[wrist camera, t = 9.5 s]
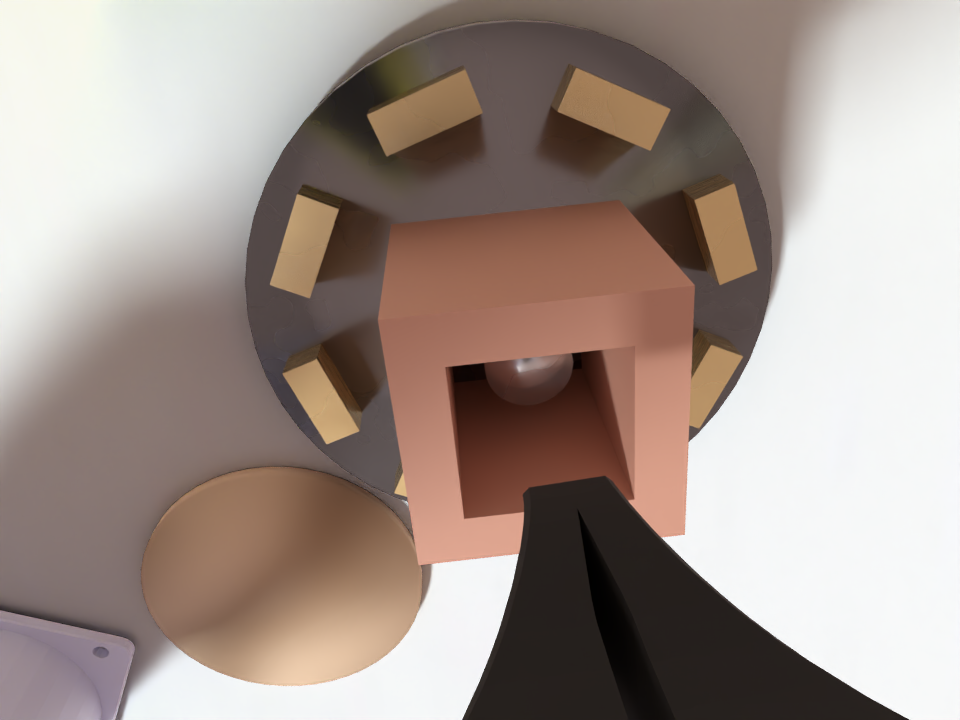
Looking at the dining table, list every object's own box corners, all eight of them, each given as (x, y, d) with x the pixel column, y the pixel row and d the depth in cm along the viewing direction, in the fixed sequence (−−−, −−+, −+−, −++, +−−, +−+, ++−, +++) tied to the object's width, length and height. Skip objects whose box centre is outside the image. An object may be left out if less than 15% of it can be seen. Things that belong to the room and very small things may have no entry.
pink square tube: (419, 420, 22) (418, 564, 16) (390, 224, 19) (377, 319, 14) (620, 398, 22) (684, 534, 16) (619, 199, 19) (694, 285, 14)
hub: (200, 423, 22) (150, 519, 18) (343, -85, 17) (318, -104, 13) (619, 543, 25) (655, 648, 21) (856, 148, 20) (964, 191, 16)
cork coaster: (122, 641, 26) (117, 653, 26) (179, 431, 22) (174, 440, 22) (372, 696, 28) (372, 707, 28) (461, 511, 24) (462, 521, 24)
